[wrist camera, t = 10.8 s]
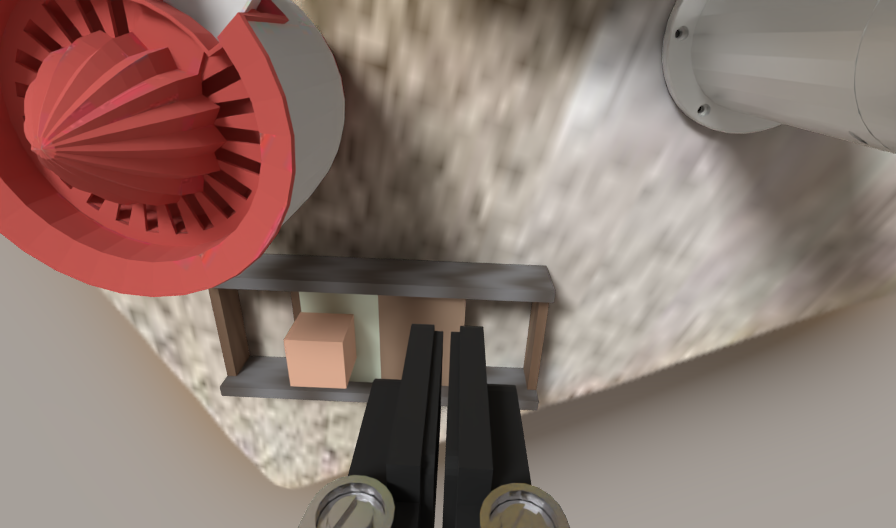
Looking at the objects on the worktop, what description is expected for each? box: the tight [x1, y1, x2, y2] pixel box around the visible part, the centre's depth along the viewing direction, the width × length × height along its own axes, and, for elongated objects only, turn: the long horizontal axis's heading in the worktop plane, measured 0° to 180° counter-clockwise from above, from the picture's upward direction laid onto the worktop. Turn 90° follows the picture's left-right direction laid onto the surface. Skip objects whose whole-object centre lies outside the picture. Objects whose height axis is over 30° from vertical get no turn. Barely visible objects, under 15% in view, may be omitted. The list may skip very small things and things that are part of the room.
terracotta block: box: [284, 312, 357, 389], centre depth 38 cm, size 4×4×4 cm
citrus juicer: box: [0, 0, 345, 297], centre depth 25 cm, size 16×17×20 cm
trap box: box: [209, 254, 556, 410], centre depth 40 cm, size 28×12×4 cm, turn 88°
